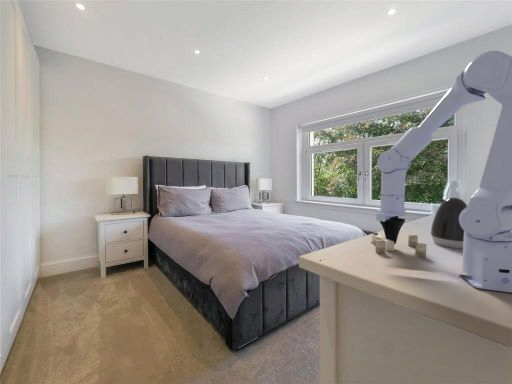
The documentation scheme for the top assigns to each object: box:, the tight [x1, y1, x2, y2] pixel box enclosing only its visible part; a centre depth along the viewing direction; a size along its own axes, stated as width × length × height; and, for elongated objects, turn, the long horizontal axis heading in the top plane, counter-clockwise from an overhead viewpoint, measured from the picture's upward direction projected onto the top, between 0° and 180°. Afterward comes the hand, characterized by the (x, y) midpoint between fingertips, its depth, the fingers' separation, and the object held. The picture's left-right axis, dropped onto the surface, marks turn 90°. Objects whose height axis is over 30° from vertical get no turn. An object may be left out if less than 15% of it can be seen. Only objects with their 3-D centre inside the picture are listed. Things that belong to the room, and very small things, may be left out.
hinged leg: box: [371, 232, 395, 252], centre depth 66 cm, size 9×2×3 cm, turn 179°
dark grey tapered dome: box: [430, 197, 468, 250], centre depth 68 cm, size 10×10×15 cm
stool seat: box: [370, 234, 427, 259], centre depth 64 cm, size 14×13×4 cm
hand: (390, 243), depth 65 cm, fingers closed, pressing on hinged leg
